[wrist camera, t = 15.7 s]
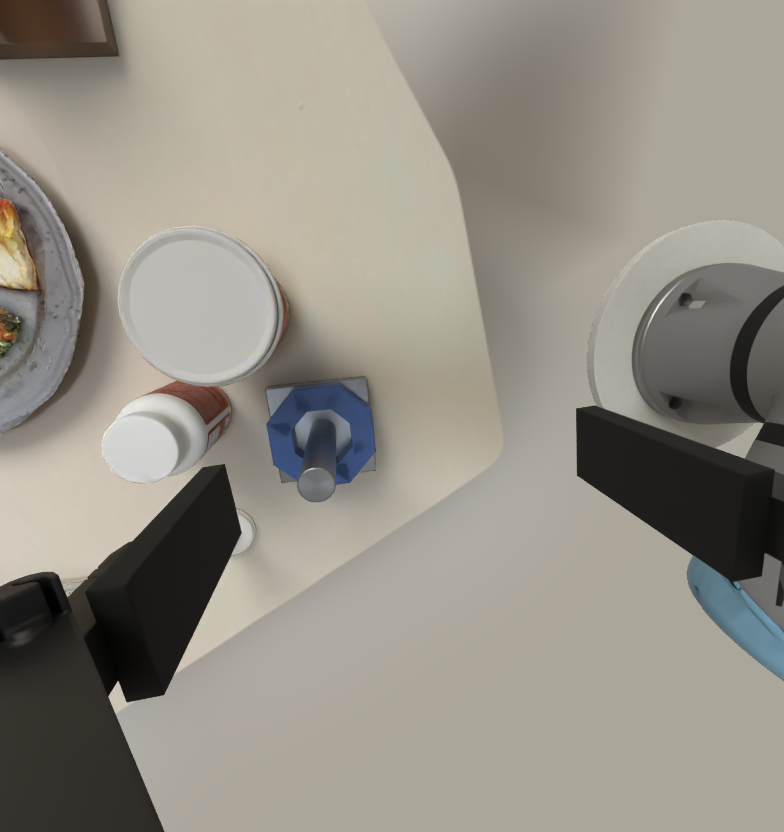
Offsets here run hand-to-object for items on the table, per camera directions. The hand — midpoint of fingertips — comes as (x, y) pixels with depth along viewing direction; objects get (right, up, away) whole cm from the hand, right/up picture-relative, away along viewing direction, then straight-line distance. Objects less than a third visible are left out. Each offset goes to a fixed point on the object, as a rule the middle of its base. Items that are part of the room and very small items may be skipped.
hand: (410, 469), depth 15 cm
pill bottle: (-18, +3, +22) cm, 29 cm away
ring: (-7, +1, +22) cm, 23 cm away
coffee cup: (-14, +11, +20) cm, 27 cm away
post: (-7, +1, +24) cm, 25 cm away
